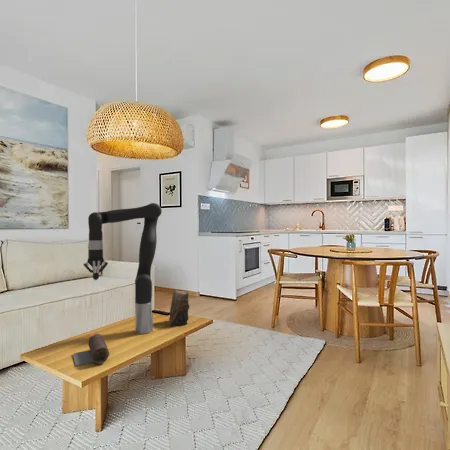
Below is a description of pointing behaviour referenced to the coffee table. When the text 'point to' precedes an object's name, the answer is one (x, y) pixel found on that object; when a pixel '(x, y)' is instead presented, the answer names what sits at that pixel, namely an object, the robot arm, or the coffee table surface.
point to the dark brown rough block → (179, 309)
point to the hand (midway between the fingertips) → (95, 279)
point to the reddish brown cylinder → (98, 348)
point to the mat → (83, 358)
